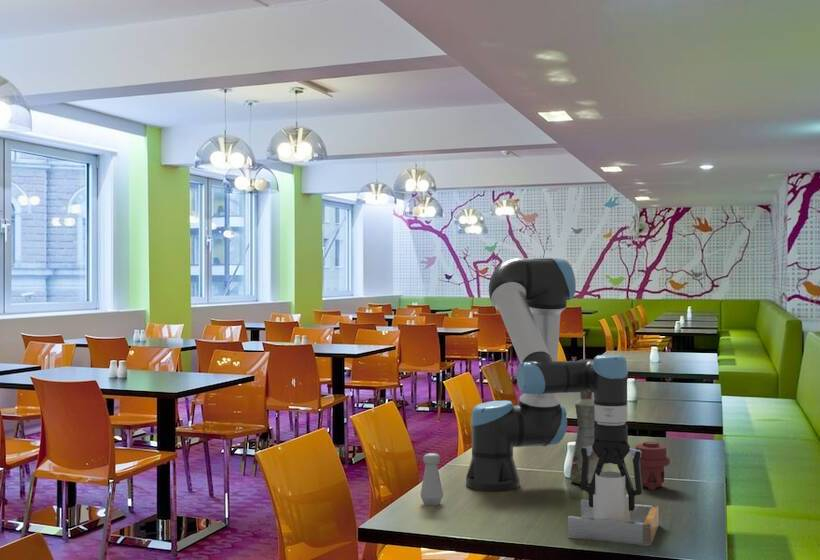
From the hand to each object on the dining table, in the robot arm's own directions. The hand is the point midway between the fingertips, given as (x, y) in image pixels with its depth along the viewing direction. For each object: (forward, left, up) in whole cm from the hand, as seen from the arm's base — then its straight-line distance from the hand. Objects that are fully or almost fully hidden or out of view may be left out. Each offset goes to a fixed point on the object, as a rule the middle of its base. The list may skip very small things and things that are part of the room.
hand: (611, 522), depth 198 cm
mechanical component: (+4, +46, -2) cm, 47 cm away
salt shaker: (-47, +8, -2) cm, 48 cm away
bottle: (-14, +45, -2) cm, 48 cm away
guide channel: (+1, 0, -2) cm, 2 cm away
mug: (0, 0, -1) cm, 1 cm away
